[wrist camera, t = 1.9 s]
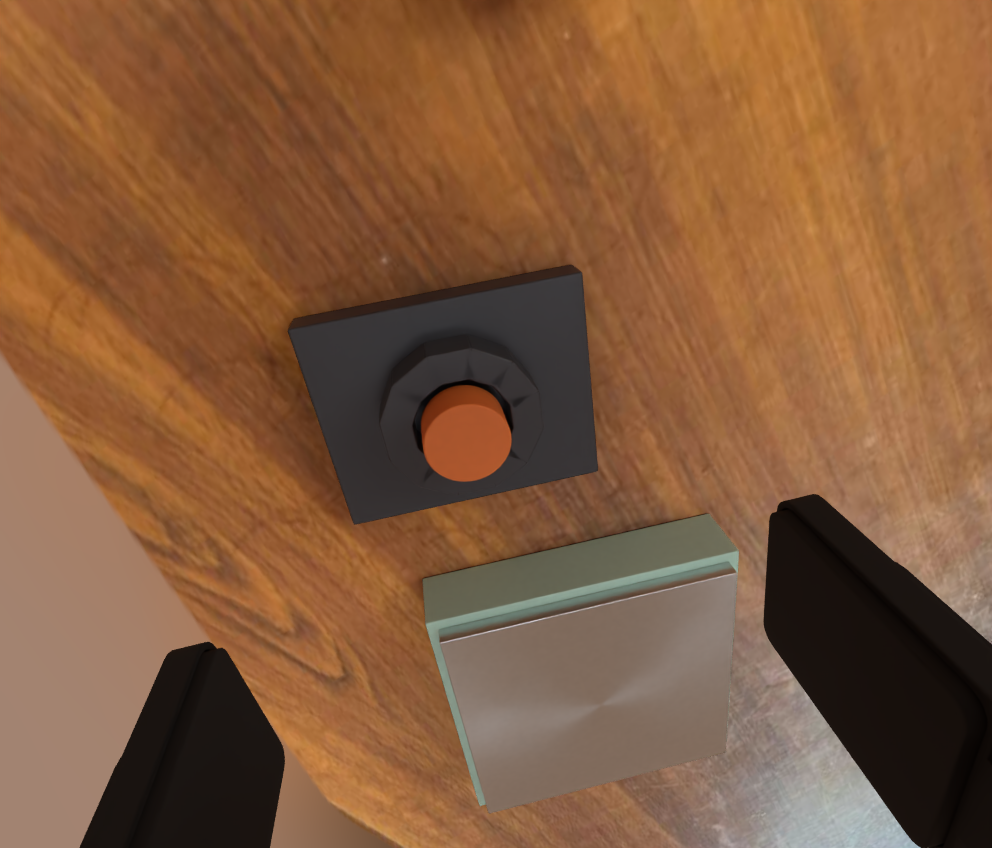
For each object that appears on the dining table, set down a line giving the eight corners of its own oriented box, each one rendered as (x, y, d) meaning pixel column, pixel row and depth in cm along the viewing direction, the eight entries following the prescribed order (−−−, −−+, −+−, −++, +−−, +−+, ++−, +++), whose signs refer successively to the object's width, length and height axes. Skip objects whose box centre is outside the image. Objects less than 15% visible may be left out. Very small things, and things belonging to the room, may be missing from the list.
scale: (473, 756, 36) (481, 821, 33) (422, 578, 29) (426, 637, 26) (702, 698, 37) (733, 756, 34) (708, 512, 30) (748, 562, 27)
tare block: (355, 507, 26) (351, 549, 24) (292, 318, 22) (278, 344, 19) (589, 455, 27) (610, 492, 24) (572, 263, 23) (595, 282, 20)
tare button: (430, 466, 23) (433, 490, 21) (412, 393, 21) (414, 414, 20) (509, 448, 23) (517, 472, 22) (497, 376, 22) (505, 395, 20)
